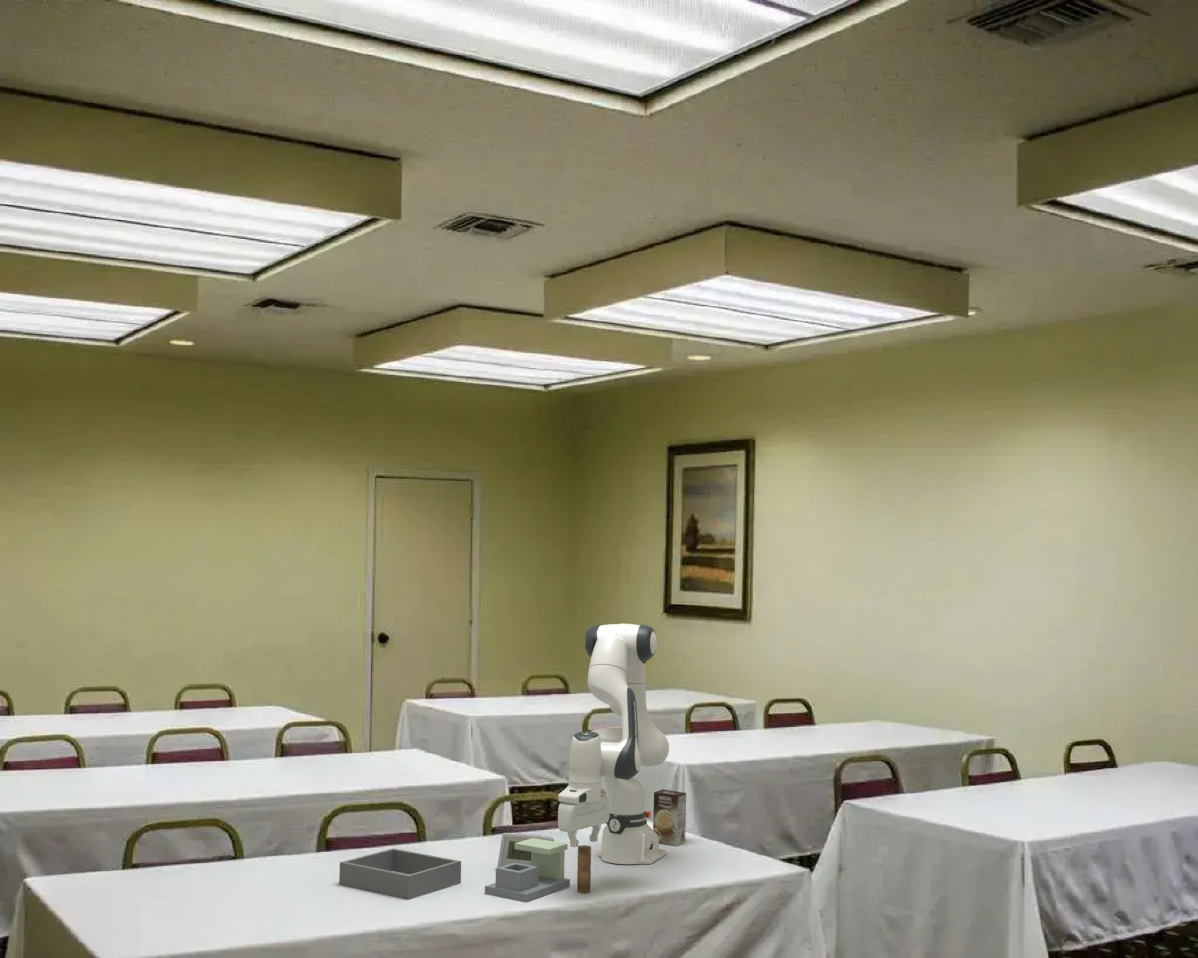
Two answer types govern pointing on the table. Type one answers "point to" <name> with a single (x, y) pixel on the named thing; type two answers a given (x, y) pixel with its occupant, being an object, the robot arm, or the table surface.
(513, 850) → the digital clock
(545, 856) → the nook
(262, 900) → the table surface
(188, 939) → the table surface
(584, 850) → the peg
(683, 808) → the coffee box
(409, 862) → the frame
